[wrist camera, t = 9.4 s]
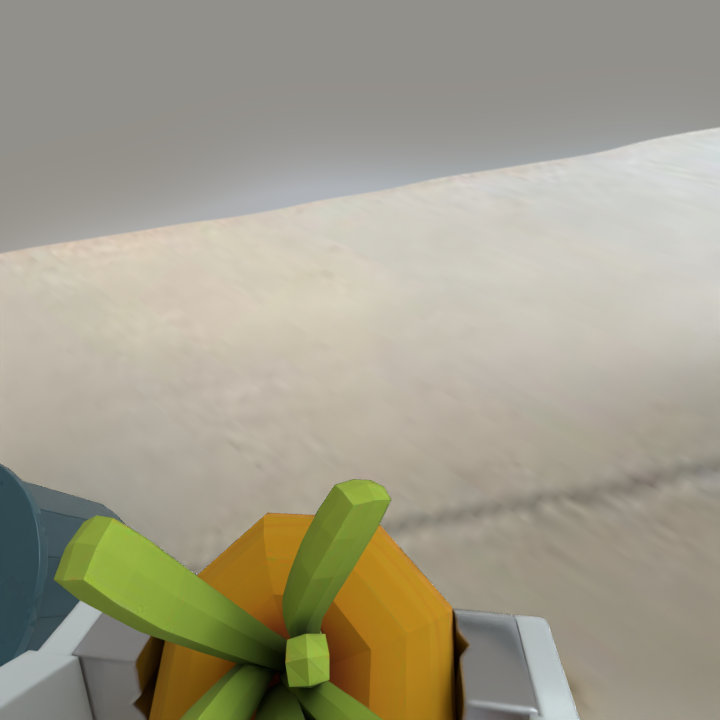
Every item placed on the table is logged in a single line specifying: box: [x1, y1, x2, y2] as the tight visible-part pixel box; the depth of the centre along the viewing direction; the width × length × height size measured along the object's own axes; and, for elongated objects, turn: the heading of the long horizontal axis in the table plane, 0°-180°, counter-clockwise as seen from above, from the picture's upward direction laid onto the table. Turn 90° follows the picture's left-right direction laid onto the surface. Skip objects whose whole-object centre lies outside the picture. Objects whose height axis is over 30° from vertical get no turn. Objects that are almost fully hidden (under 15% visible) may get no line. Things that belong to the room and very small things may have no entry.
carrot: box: [54, 479, 456, 720], centre depth 10 cm, size 5×5×15 cm
